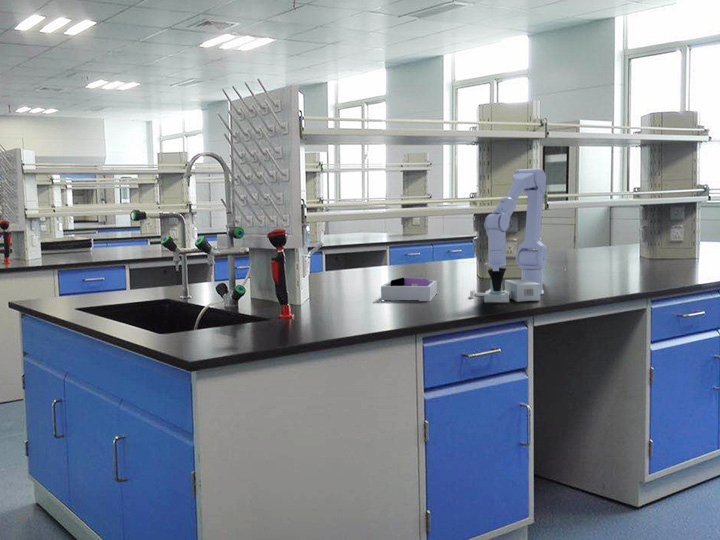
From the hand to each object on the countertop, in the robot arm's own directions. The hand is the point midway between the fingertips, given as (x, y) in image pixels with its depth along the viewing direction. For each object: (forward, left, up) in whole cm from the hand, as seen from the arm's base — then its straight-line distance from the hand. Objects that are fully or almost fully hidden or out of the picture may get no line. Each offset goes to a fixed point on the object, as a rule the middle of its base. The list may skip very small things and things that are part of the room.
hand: (497, 290), depth 255 cm
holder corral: (-7, -31, -4) cm, 32 cm away
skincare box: (+1, +10, -1) cm, 10 cm away
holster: (-9, -6, -4) cm, 11 cm away
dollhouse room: (-7, -31, -4) cm, 32 cm away
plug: (0, 0, -2) cm, 2 cm away
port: (0, 0, -4) cm, 4 cm away
